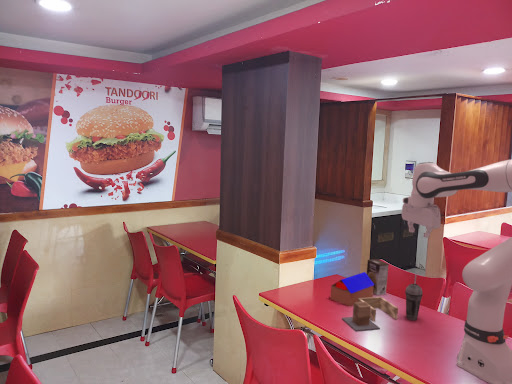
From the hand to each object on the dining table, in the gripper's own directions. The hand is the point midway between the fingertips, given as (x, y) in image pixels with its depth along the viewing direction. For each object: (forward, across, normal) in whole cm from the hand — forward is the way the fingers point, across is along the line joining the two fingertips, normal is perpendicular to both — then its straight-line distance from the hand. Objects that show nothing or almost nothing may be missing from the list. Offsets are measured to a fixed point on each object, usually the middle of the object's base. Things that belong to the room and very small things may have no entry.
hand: (418, 234), depth 172 cm
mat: (+39, +5, +21) cm, 45 cm away
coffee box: (+39, +38, -7) cm, 55 cm away
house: (+40, +32, +10) cm, 52 cm away
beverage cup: (+39, +6, -5) cm, 40 cm away
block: (+38, +5, +21) cm, 44 cm away
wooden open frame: (+39, +14, +8) cm, 42 cm away
